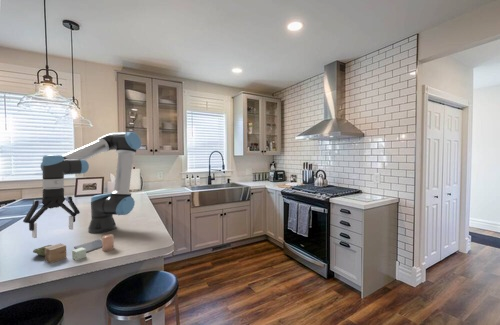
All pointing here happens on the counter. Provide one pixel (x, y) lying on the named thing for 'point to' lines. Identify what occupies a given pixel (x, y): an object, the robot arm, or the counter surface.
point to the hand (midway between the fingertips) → (53, 233)
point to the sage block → (79, 253)
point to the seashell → (41, 250)
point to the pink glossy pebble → (107, 242)
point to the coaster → (91, 245)
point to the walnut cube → (55, 252)
